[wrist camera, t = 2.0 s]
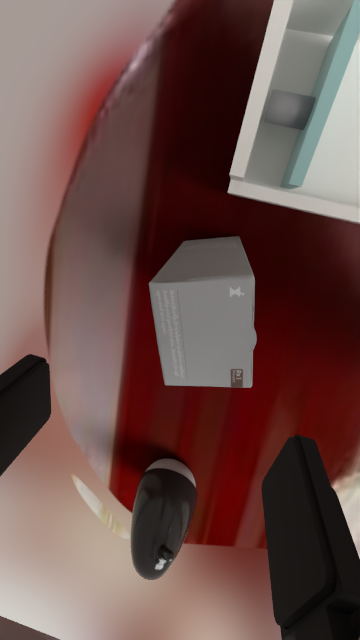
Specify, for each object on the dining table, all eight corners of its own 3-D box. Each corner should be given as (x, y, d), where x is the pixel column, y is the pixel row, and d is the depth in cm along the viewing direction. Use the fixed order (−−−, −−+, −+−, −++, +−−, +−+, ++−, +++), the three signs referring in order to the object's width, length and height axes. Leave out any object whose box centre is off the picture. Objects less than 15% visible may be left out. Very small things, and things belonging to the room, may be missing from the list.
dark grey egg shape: (212, 472, 45) (201, 590, 31) (178, 493, 49) (155, 603, 36) (167, 439, 43) (136, 546, 30) (136, 464, 48) (96, 566, 35)
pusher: (342, 45, 19) (371, 0, 15) (290, 189, 24) (301, 186, 20) (287, 36, 20) (301, -10, 15) (246, 179, 24) (248, 174, 20)
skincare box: (184, 239, 29) (132, 274, 15) (248, 234, 27) (259, 268, 13) (190, 308, 32) (153, 388, 18) (247, 307, 31) (255, 394, 17)
